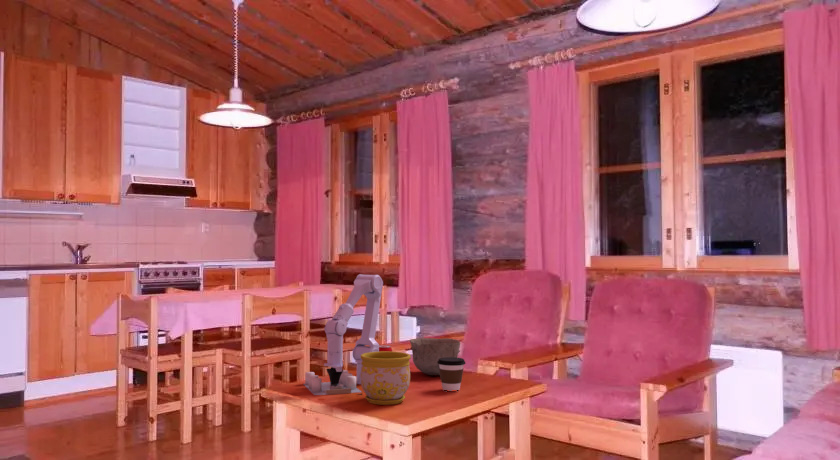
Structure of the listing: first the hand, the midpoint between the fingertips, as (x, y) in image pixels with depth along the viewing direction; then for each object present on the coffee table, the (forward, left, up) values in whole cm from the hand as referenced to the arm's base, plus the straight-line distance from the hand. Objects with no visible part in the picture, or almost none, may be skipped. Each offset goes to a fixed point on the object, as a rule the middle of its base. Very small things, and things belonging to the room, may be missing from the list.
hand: (334, 387), depth 250 cm
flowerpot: (-14, +19, -2) cm, 24 cm away
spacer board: (0, -4, -2) cm, 5 cm away
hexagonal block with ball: (0, +3, -1) cm, 3 cm away
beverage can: (-30, -32, -2) cm, 44 cm away
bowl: (-50, -23, -2) cm, 55 cm away
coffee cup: (-44, +9, -2) cm, 45 cm away
